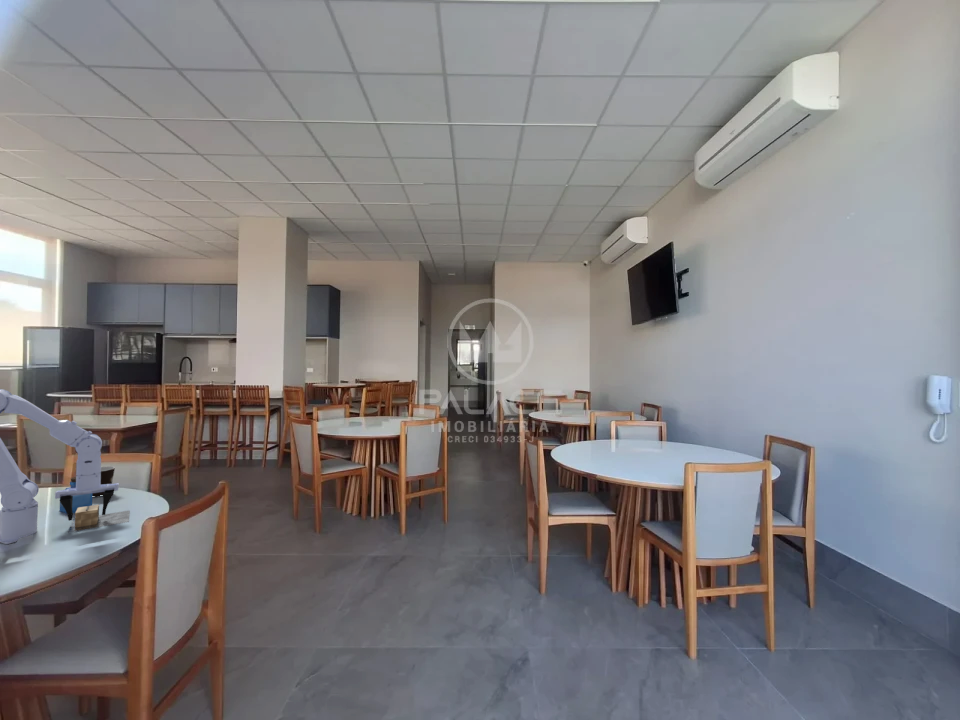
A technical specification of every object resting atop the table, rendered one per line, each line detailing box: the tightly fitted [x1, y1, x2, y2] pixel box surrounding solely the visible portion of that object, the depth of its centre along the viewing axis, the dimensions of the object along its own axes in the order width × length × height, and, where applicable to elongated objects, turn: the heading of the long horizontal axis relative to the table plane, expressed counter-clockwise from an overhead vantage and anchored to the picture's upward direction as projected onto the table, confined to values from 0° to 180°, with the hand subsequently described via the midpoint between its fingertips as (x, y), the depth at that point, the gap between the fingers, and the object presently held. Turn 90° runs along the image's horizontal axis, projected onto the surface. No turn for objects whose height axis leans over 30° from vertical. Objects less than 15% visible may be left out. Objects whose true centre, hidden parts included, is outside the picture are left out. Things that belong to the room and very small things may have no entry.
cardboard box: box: [74, 504, 100, 528], centre depth 131 cm, size 5×6×5 cm
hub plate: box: [67, 509, 131, 533], centre depth 133 cm, size 14×13×4 cm
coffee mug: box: [92, 465, 116, 496], centre depth 161 cm, size 12×9×10 cm
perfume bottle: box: [59, 476, 93, 514], centre depth 143 cm, size 6×6×12 cm
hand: (87, 516), depth 131 cm, fingers open, 7 cm apart
